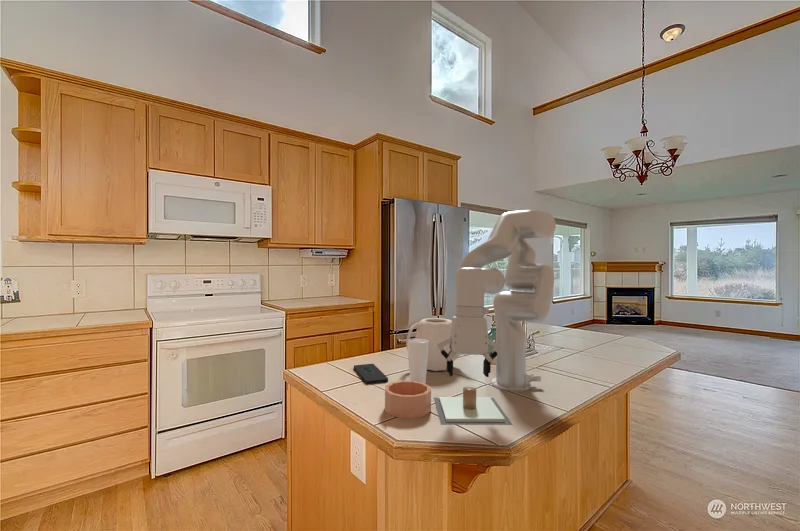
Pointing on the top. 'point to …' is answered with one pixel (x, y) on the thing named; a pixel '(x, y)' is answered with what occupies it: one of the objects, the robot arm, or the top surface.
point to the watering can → (434, 340)
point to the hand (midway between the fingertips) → (468, 375)
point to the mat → (443, 422)
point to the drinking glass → (418, 359)
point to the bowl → (407, 399)
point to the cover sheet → (470, 415)
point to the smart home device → (370, 374)
